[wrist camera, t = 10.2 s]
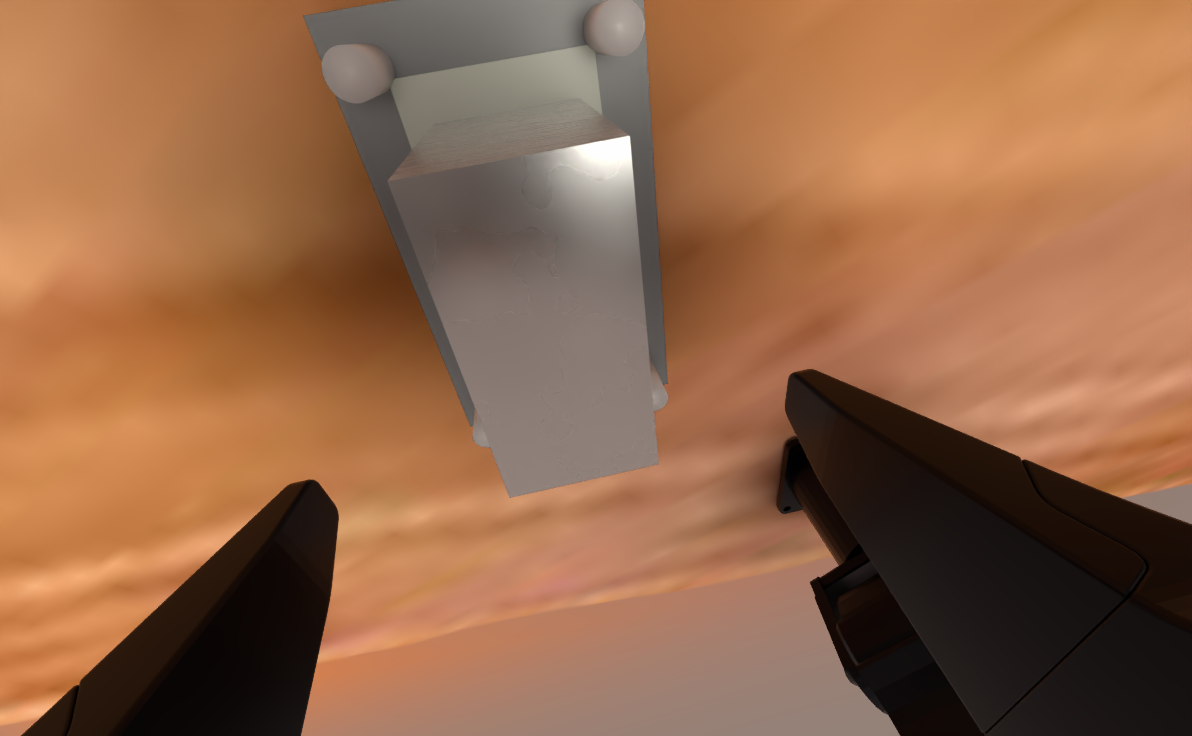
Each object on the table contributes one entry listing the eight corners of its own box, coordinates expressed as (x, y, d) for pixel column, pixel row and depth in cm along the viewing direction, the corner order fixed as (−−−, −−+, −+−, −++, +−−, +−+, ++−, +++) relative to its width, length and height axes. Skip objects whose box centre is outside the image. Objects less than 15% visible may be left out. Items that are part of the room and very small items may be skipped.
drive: (612, 341, 20) (658, 464, 14) (504, 364, 19) (506, 498, 14) (579, 97, 14) (629, 136, 9) (429, 124, 14) (381, 182, 8)
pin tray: (658, 365, 23) (684, 419, 20) (472, 405, 22) (467, 467, 19) (628, -34, 14) (667, -56, 11) (320, 17, 14) (264, 11, 10)
